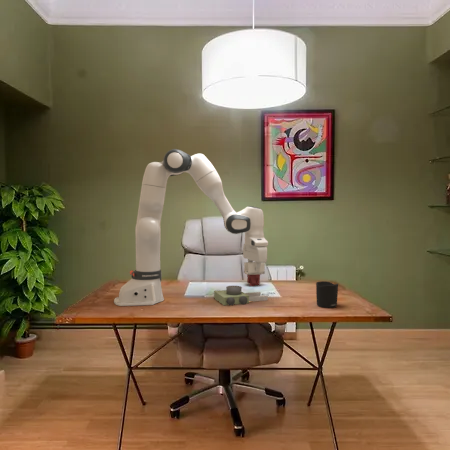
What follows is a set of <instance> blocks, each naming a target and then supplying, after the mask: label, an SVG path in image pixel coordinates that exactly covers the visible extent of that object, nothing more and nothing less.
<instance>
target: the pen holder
mask: <svg viewBox="0 0 450 450" xmlns="http://www.w3.org/2000/svg"><path fill="white" fill-rule="evenodd" d="M315 286H316V287H315V291H316V292H315V293H316V295H315V297H316V298H315V299H316V306H317V307H319V308H325V309H334V308H336V307H337V305H338V295H339V293H338V292H339V283H332V282H330V281H317V282H316V283H315Z"/></svg>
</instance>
